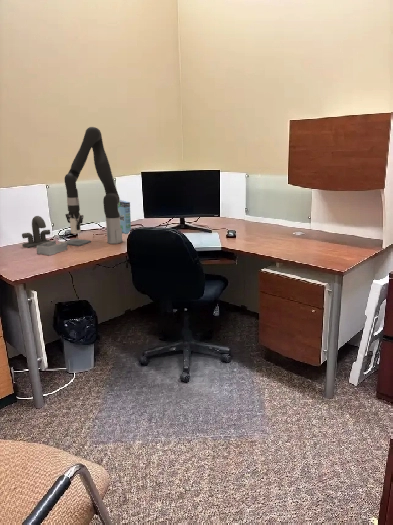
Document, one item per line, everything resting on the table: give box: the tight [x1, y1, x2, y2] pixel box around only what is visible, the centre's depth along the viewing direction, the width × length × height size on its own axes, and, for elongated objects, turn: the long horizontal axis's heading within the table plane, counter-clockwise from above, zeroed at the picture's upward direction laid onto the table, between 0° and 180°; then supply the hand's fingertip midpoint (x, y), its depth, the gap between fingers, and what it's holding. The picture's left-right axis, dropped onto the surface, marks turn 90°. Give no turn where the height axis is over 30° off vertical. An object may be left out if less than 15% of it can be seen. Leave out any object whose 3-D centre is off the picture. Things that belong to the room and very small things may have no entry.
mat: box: [65, 238, 92, 247], centre depth 280 cm, size 14×12×1 cm
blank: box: [69, 218, 82, 235], centre depth 277 cm, size 5×4×10 cm
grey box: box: [35, 239, 68, 256], centre depth 260 cm, size 10×15×5 cm
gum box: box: [118, 199, 132, 235], centre depth 310 cm, size 20×5×23 cm, turn 39°
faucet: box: [21, 215, 51, 249], centre depth 272 cm, size 18×16×20 cm
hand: (75, 229), depth 278 cm, fingers closed on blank, 4 cm apart
